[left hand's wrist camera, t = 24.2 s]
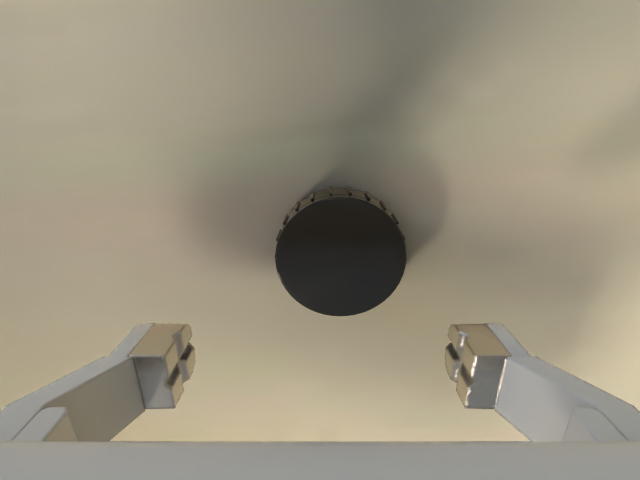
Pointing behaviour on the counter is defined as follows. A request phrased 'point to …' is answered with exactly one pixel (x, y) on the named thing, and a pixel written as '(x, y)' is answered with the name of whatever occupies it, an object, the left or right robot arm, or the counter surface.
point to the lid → (340, 252)
